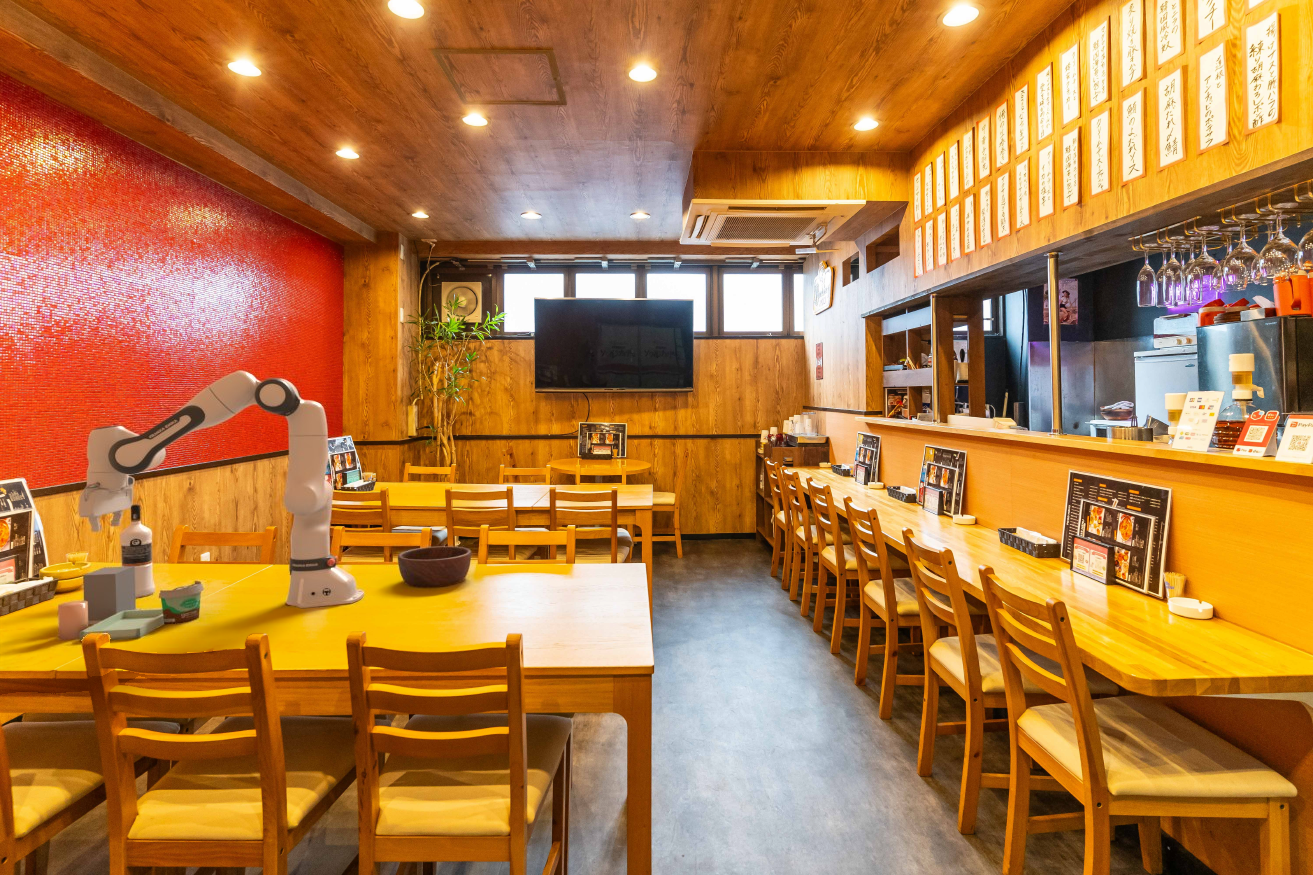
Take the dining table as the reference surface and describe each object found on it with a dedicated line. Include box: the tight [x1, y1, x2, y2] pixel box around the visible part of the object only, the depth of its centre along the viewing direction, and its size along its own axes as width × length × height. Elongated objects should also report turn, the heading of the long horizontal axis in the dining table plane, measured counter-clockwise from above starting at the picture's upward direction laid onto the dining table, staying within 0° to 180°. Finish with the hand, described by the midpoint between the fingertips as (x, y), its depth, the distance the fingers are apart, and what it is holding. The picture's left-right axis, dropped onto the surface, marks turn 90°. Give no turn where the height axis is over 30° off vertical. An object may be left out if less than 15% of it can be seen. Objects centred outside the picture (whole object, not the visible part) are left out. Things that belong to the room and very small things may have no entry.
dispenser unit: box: [82, 566, 142, 626], centre depth 197 cm, size 10×12×14 cm
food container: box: [158, 580, 205, 626], centre depth 195 cm, size 12×6×10 cm, turn 168°
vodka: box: [119, 503, 156, 599], centre depth 222 cm, size 9×9×30 cm
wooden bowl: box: [397, 545, 472, 588], centre depth 241 cm, size 25×25×10 cm
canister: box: [57, 600, 89, 642], centre depth 181 cm, size 6×6×9 cm
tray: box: [78, 608, 164, 643], centre depth 188 cm, size 14×20×2 cm
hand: (106, 528), depth 196 cm, fingers open, 8 cm apart
